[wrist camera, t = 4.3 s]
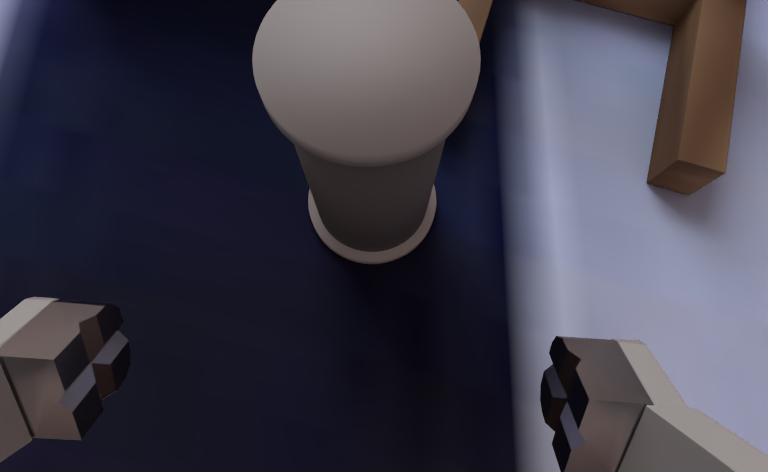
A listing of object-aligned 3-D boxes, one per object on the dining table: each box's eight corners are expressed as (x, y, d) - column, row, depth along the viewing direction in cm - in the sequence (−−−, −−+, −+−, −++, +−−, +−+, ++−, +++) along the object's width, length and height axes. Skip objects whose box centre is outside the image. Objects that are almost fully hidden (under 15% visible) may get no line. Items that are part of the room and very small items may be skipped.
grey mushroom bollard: (291, 241, 22) (215, 117, 12) (334, 133, 23) (300, -59, 13) (414, 280, 21) (445, 186, 11) (449, 167, 23) (504, -5, 13)
